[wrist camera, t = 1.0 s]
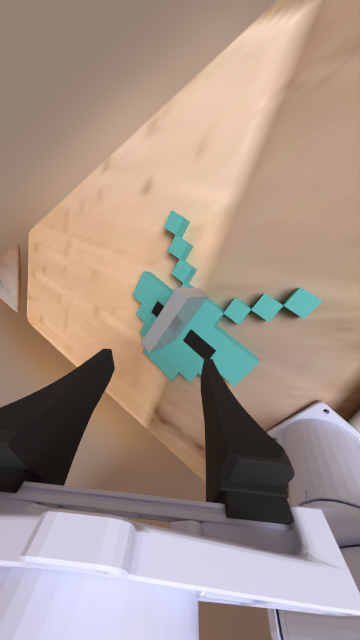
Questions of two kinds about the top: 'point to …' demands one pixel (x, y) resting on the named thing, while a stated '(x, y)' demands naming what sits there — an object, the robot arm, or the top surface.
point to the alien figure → (205, 319)
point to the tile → (174, 317)
